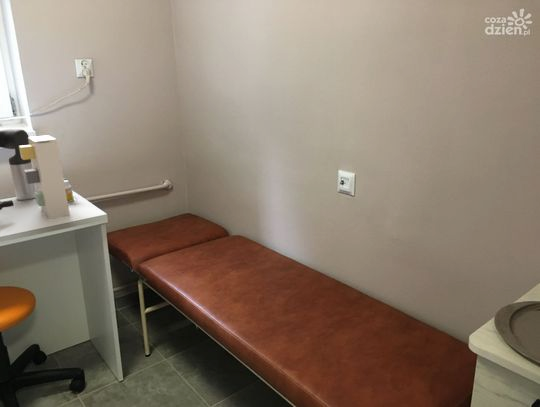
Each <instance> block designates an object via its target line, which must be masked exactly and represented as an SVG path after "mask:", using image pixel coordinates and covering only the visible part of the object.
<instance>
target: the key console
mask: <svg viewBox="0 0 540 407" xmlns="http://www.w3.org/2000/svg"><path fill="white" fill-rule="evenodd" d="M28 141H29V145H33V147H34V152H35V157H36V158H35V159H31V163H32V168H36V169H38V173H39V178H40V182H39V183H36V188H37V192H38V191H41V192H42V194H43V199H44V204H45V205H44V206H40V208H41V210H42V211H43V213H44V215H46V217H47V218H48V220H49V219H55V218H60V217H66V216H70V215H71V214H70V213H71V212H70V208H69V202H67V196H66V190H65V184H64V179H63V178H64V174H63V169H62V168H63V167H62V162H61V156H60V150H59V144H58V140H57V138H55V137H54V136H51V135H38V136H37V135H36V136H29V137H28Z"/></svg>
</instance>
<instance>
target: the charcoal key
mask: <svg viewBox="0 0 540 407" xmlns="http://www.w3.org/2000/svg"><path fill="white" fill-rule="evenodd" d="M32 168H33V169H26V170H24V174H25V179H26V182H27V183H28V184H32V183H36V184H37V183H39V182H40V178H39V173H38V169H36V168H34V167H32Z"/></svg>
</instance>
